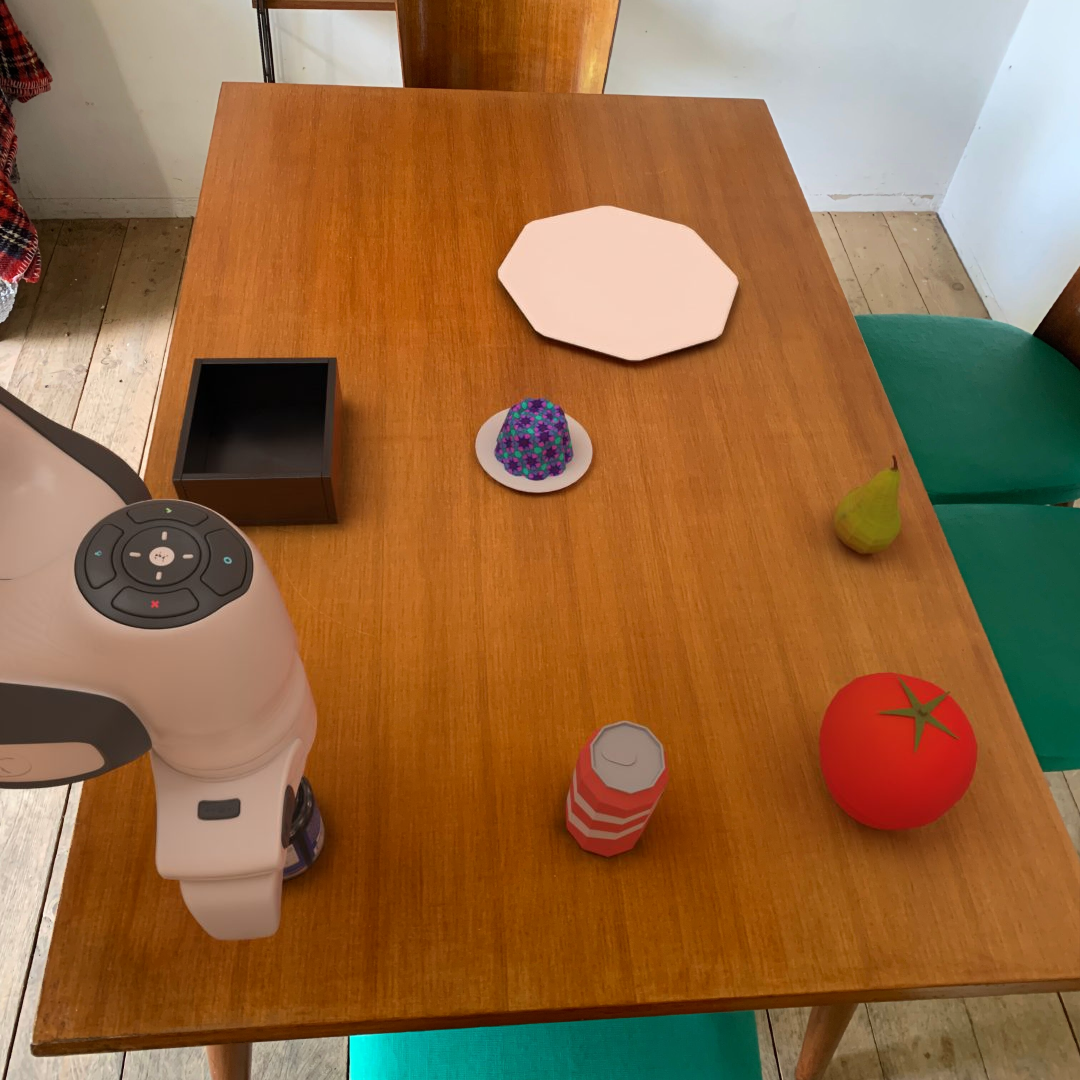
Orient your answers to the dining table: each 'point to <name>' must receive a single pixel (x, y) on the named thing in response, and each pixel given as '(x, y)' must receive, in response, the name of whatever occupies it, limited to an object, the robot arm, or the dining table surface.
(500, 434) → the pudding
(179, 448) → the open box
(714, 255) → the plate
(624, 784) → the beverage can
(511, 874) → the dining table surface
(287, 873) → the pill bottle
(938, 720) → the tomato
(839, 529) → the fruit
